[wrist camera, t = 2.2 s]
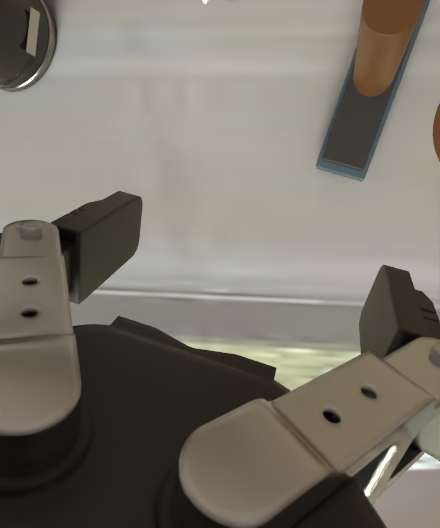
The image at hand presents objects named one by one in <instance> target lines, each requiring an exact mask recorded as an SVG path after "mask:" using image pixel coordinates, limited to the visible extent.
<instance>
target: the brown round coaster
mask: <svg viewBox="0 0 440 528" xmlns="http://www.w3.org/2000/svg"><path fill="white" fill-rule="evenodd" d="M433 140H434V146H435V150H436V154H437V156H438V158H439V161H440V104H439V107H438V109H437V112H436V116H435V120H434V126H433Z"/></svg>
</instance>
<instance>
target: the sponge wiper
mask: <svg viewBox="0 0 440 528" xmlns="http://www.w3.org/2000/svg"><path fill="white" fill-rule="evenodd" d="M429 2H430V0H364V2H363V7H362V14H361V22H360V29H359V37H358V44H357V48H356V51H355V54H354V57H353V59H352V62H351V65H350V68H349V71H348V74H347V77H346V80H345V83H344V86H343V88H342V91H341V94H340V97H339V100H338V103H337V106H336V109H335V112H334V115H333V118H332V120H331V123H330V126H329V129H328V132H327V135H326V138H325V141H324V144H323V147H322V150H321V152H320V155H319V158H318V161H317V164H316V167H317V169H320V170H323V171H327V172H330V173H334V174H337V175H341V176H344V177H348V178H351V179H355V180H358V181H363V180H364V178H365V175H366V173H367V170H368V167H369V164H370V162H371V159H372V156H373V154H374V151H375V148H376V145H377V143H378V140H379V137H380V135H381V132H382V129H383V127H384V124H385V121H386V118H387V116H388V113H389V110H390V108H391V105H392V102H393V99H394V97H395V94H396V91H397V89H398V86H399V83H400V80H401V78H402V75H403V72H404V70H405V67H406V64H407V61H408V59H409V56H410V53H411V51H412V48H413V45H414V43H415V40H416V37H417V34H418V32H419V29H420V26H421V24H422V21H423V18H424V15H425V13H426V10H427V7H428V5H429Z"/></svg>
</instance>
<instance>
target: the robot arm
mask: <svg viewBox="0 0 440 528" xmlns="http://www.w3.org/2000/svg"><path fill="white" fill-rule="evenodd" d="M55 38H56V34H55V24H54V20H53V16H52V13H51V11H50V9H49V7H48V5H47V4H46V2H45V1H44V0H0V89H1V90H4V91H9V92H16V91H21V90H24V89H27V88H28V87H30V86H32V85H33V84H35V83H36V82H37V81H38V80H39V79H40V78H41V77H42V76H43V74H44V73H45V71H46V70H47V68H48V66H49V64H50V62H51V59H52V56H53V53H54V48H55ZM141 215H142V199H141V197H139V196H136V195H132V194H129V193H125V192H121V191H118V192H116V193H114V194H112V195H111V196H109V197H107V198H105V199H103V200H100V201H95V202H90V203H87V204H85V205H83V206H81V207H79V208H78V210H77V209H75V210H74V211H72V212H70V214H66V215H64V216H62V217H60V218H59V219H57V220H55V221H53V222H51V223H49V222H45V221H39V220H22V221H17V222H13V223H10V224H8V225H7V226H5V227H4V228H3V232H2V233H0V528H387V527H386V525H385V524H384V522H383V521H382V519H381V518H380V516H379V515H378V513H377V511H376V510H375V508H374V507H373V504H374V503H375V501H376V500H377V499H378V498H379V496H380V495H381V494H382V493H383V492H384V491H385V490H386V489H387V488H388V487H389V486H390V485H391V484H393V483H394V482H395V481H396V480H397V479H398V478H399V477H400V476H401V475H402V474H403V473H404V472H405V471H406V470H408V469H409V468H410V467H411V466H412V465H413V464H414V463H415V462H416V461H417V460H418V459H419V458H420V457H421V456H422V455H423V454H424V453H427V454H429V455H430V456H432V457H434V458H435V459H437V460H439V461H440V323H439V322H440V320H439V318H438V315H437V314H436V310H435V307H434V305H433V302H432V301H431V300H430V299H429V298H428V297H427V296H426V295H425V294H424V293H423V292H422V291H418V290H415V289H414V286H413V283H412V280H411V277H410V274H409V272H408V271H405V270H401V269H397V268H394V267H390V266H387V265H383V266H382V267H381V268H380V270H379V272H378V274H377V277H376V279H375V281H374V284H373V286H372V288H371V291H370V293H369V295H368V298H367V300H366V302H365V305H364V307H363V310H362V313H361V317H360V322H359V330H360V345H361V355H359V356H357V357H355V358H353V359H351V360H349V361H348V362H346V363H344V364H342V365H340V366H338V367H336V368H334V369H332V370H330V371H329V372H327V373H325V374H323V375H321V376H319V377H317V378H315V379H313V380H311V381H310V382H308V383H306V384H304V385H302V386H300V387H298V388H296V389H294V390H292V391H290V390H289V389H287V388H286V387H284V386H283V385H281V384H280V383H278V382H276V381H275V380H274V377H275V372H276V368H275V367H272V366H269V365H266V364H263V363H260V362H257V361H254V360H251V359H248V358H245V357H242V356H239V355H236V354H229V353H222V352H216V351H209V350H202V349H195V348H191V347H189V346H187V345H185V344H183V343H182V342H180V341H178V340H176V339H174V338H173V337H171V336H169V335H167V334H165V333H164V332H162V331H160V330H158V329H156V328H154V327H151V326H148V325H145V324H142V323H139V322H136V321H133V320H130V319H127V318H124V317H121V316H118V317H117V318H116V319H115V320H114V322H113V323H112V324H111V325H97V324H92V325H78V326H72V318H71V310H70V302H69V301H71V302H74V303H77V304H80V303H81V302H82V301H83V300H84V299H86V298H87V297H88V296H89V295H90V294H91V293H92V292H93V291H94V290H96V289H97V288H98V287H99V286H100V285H101V284H102V283H103V282H104V281H106V280H107V279H108V278H109V277H110V276H111V275H112V274H113V273H114V272H116V271H117V270H118V269H119V268H120V267H121V266H122V265H123V264H125V263H126V262H127V261H128V260H129V259H130V258H131V257H132V256H133V255H134V253H135V252H136V250H137V247H138V243H139V237H140V226H141Z"/></svg>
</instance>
